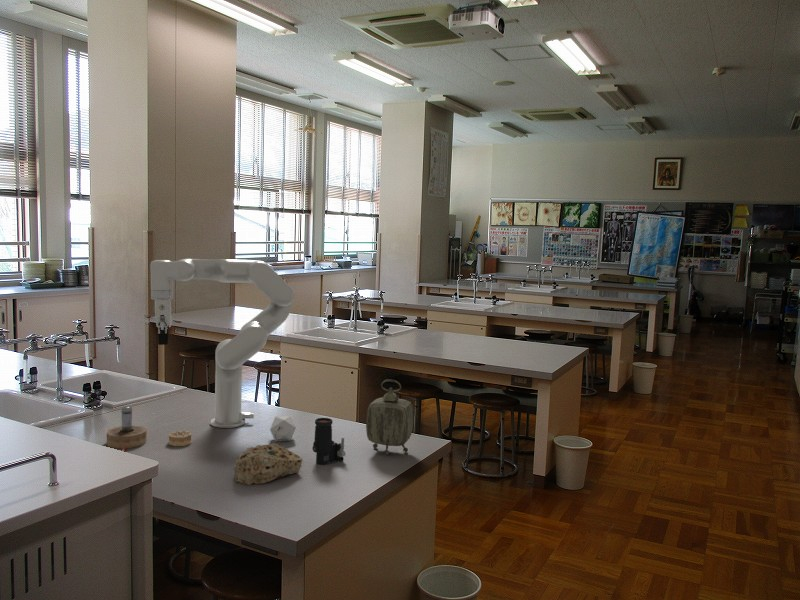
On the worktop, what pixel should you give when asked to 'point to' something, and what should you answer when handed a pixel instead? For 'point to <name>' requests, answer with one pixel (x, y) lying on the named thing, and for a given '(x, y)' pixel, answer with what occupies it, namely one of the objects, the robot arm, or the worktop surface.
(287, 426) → the die
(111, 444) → the bead
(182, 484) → the worktop surface
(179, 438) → the beige short cylinder
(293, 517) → the worktop surface
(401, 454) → the worktop surface
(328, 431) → the scope
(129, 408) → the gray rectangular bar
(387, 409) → the tabletop clock
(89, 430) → the worktop surface
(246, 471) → the rock
